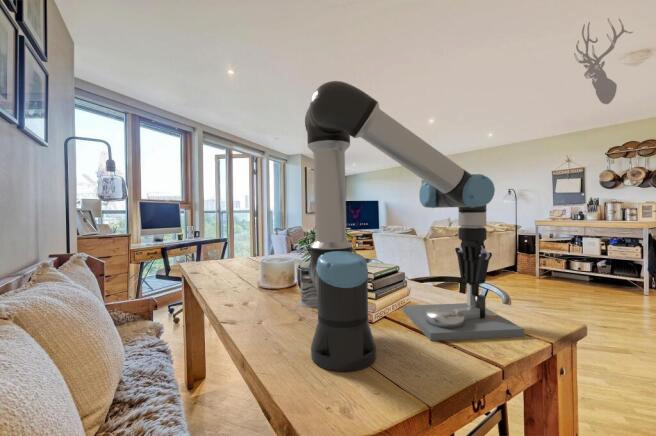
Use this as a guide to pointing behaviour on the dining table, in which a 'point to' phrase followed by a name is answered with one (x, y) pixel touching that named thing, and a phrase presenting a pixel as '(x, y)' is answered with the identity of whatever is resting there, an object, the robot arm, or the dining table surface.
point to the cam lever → (456, 314)
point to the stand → (472, 328)
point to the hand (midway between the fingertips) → (472, 305)
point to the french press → (305, 283)
